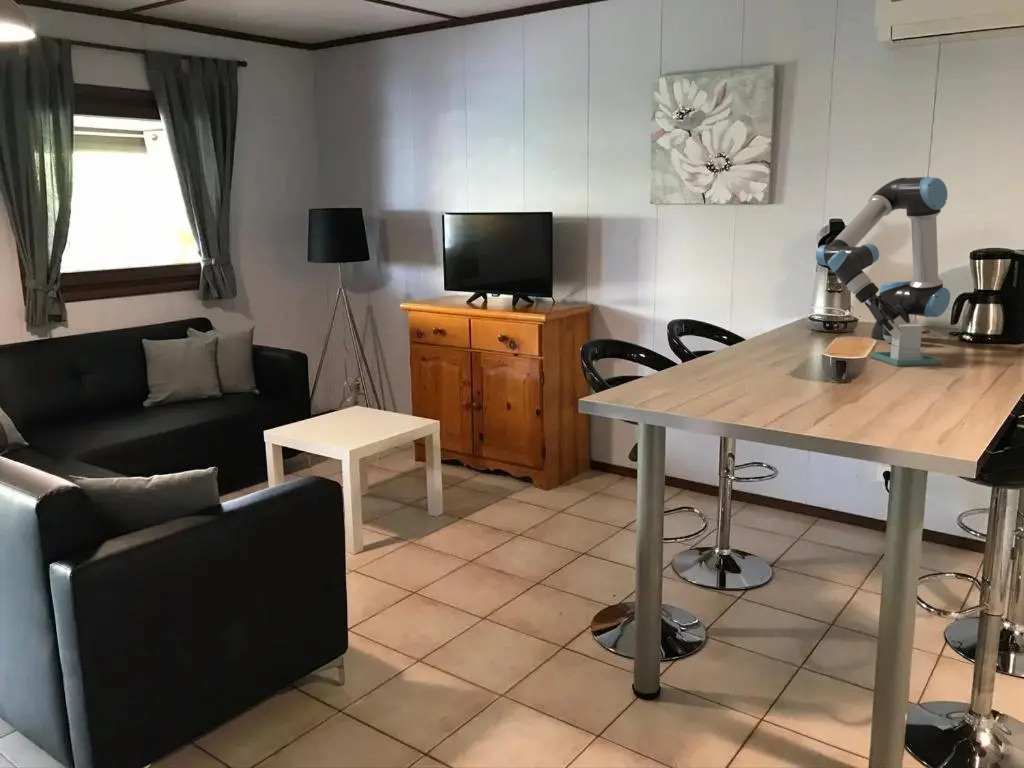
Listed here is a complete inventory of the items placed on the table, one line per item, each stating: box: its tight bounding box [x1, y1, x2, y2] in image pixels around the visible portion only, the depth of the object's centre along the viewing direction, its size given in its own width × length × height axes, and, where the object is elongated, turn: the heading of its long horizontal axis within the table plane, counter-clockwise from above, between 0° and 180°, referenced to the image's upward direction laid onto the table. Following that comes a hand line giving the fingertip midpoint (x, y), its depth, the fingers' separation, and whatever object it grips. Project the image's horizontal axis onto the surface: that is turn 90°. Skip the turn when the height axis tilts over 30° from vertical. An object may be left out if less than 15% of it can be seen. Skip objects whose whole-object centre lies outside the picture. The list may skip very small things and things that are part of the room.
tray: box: [870, 351, 942, 367], centre depth 291 cm, size 16×16×2 cm
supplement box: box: [890, 322, 923, 360], centre depth 290 cm, size 7×7×13 cm
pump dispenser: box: [883, 305, 911, 345], centre depth 327 cm, size 10×10×15 cm
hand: (904, 334), depth 290 cm, fingers open, 13 cm apart
